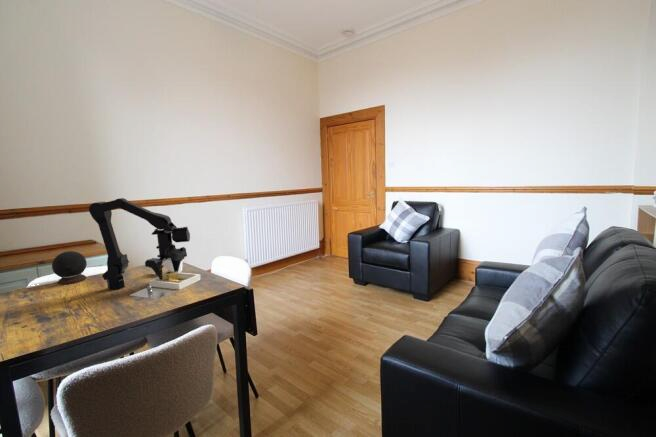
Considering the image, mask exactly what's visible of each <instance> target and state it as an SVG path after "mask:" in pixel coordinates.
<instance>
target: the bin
mask: <svg viewBox="0 0 656 437" xmlns="http://www.w3.org/2000/svg"><path fill="white" fill-rule="evenodd" d="M177 274H178V279H180V280H184V279H186V280H184V281H182V282H180V283H174V282H164V281H161V280H160V279H159V277H158V276H157V277H155V278H153V279H150V280H148V284H149V285H150V286H152V288H159V289H168V290H182V289H184V288H187V287H188V286H190V285H192V284H195V283H196V282H198V281H200V280H201V274H200V273H189V272H188V273H187V272H181V273H180V272H178V273H177ZM149 285H148V286H149Z"/></svg>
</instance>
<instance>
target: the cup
mask: <svg viewBox="0 0 656 437" xmlns="http://www.w3.org/2000/svg"><path fill="white" fill-rule="evenodd" d="M164 262H165V265H166V267H167V271H174V268H173V265H172V261H171V259H170V260H167V261H164ZM183 262H184V259H183V260H182V261H181V263H180V266H179V270H178V272H180V273H183V264H184V263H183Z"/></svg>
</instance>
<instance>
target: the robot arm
mask: <svg viewBox="0 0 656 437" xmlns="http://www.w3.org/2000/svg"><path fill="white" fill-rule="evenodd" d="M117 209H122V211H125V212H127V213H129V214H132V215H134V216H137V217H139V218H141V219H143V220H145V221H147V222H148V223H149V224H150V225H151V226H152V227H153V228H155V229H154V231H153V232H152V233H151V235H153V236H155V235H156V237H157V245H156V247H155V248H156V249H157V250H158V253H159V254H157V258H154V257H152V258H148V259H146V260H145V261H144V266H145V267H146V268H150V269H151V270H152V271H153V272H154V273H155V274H156V276H157V277H159V279H160V280H162V279H163V274H162V273H163V268H164V264H163V262H165V261H167V260H170V259H171V261H172V265H173V268H174V271H177V273H178V270H179V266H180V263H181V261H182V260H183V261H184V259H185V258H186V257H188V252H187V249H186V247H184V246H182V247H180V248H176V245H175V244H174V243H173V242H175V243H185V242H190V240H191V233H190V231H189V227H188V226H182V227H177V226H176V225H175V224H174V223H173V222H172V219H171V217H170V215H166V214H163V213H159V212H154V211H151V210H149V209H146V208H145V207H142V206H140V205H138V204H136V203H133V202H131V201H129V200H127V199H126V198H124V197H121V198H116V199H114V200H110V201H107V202H106V201H98V202H93V203H92V204H90V205H89V207H88V212H89V214H90V215H91V218H92V220H94V221H95V222H96V223H97V225H98V227H99V231H100V234H101V237H102V240H103V244H104V247H105V250H106V254H107V259H106V265H107V269H106V271H105V272H104V273H103V274H102V275H101V276H102V279H103V280H104V281H106V286H107V289H108V290H109V291H114V290H115V291H116V290H122V289H124V288H125V287H126V286H125V279H124V275H123V274H124V273H125V271H126V270H127V268H128V267H129V263H130V261H129V259H128V255H127V254H126V253H125V254H123V253H122V252H121V250H120V247H119V243H118V240H117V238H116V233H115V231H114V230H115V229H114V227H113V224H112V215H113V213H112V212H113V211H112V210H117Z"/></svg>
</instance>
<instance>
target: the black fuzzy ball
mask: <svg viewBox="0 0 656 437" xmlns="http://www.w3.org/2000/svg"><path fill="white" fill-rule="evenodd" d="M87 265H88V264H87V259H86V257H85V256H84V255H83V254H82V253H80V252H78V251H73V250H69V251H64V252H61V253H59V254H58V255H56V256H55V257H54V259H53V260H52V263H51V269H52V271H53V273H54V274H55V275H56V276H57V277H60V278H59V279H58V280H57V285H58V286H68V285H74V284H77V283H81V282H84V281H86V280H87V279H86V278H87V276H86V275H85V274H83V272H84V271H85V270H86V268H87ZM85 279H86V280H85Z"/></svg>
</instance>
